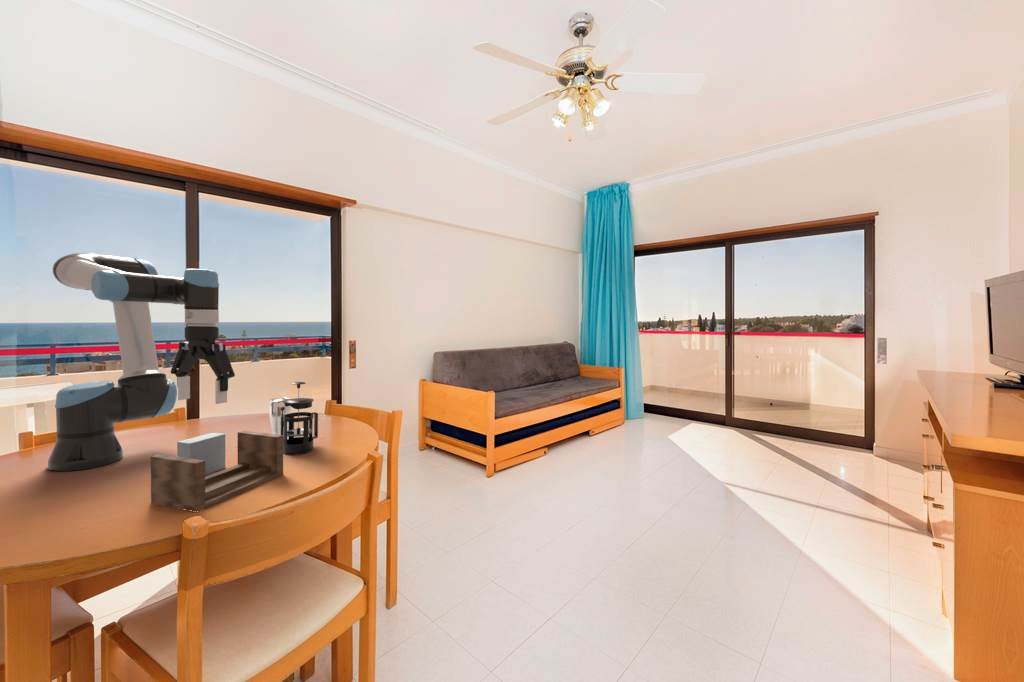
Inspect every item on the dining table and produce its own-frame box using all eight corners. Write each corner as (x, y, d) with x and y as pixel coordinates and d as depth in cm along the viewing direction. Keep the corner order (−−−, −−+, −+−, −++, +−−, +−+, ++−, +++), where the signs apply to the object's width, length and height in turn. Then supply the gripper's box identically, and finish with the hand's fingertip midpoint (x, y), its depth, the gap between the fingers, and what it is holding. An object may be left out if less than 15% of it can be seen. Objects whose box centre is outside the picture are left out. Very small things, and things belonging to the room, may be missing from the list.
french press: (290, 457, 127) (290, 385, 126) (274, 451, 132) (274, 382, 131) (324, 448, 137) (324, 381, 136) (308, 443, 142) (308, 378, 141)
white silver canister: (264, 442, 142) (264, 400, 141) (279, 437, 148) (279, 397, 148) (282, 444, 140) (282, 401, 140) (295, 438, 147) (296, 398, 147)
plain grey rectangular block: (177, 478, 109) (177, 441, 109) (213, 465, 119) (213, 432, 118) (190, 480, 108) (189, 443, 108) (225, 467, 118) (225, 433, 117)
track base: (151, 503, 94) (150, 456, 94) (243, 468, 117) (243, 430, 117) (196, 512, 90) (196, 463, 90) (283, 474, 114) (283, 435, 113)
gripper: (153, 324, 111) (154, 400, 112) (224, 326, 105) (224, 407, 106) (182, 324, 119) (183, 395, 119) (249, 326, 112) (249, 402, 113)
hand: (202, 401), depth 113 cm, fingers open, 13 cm apart
